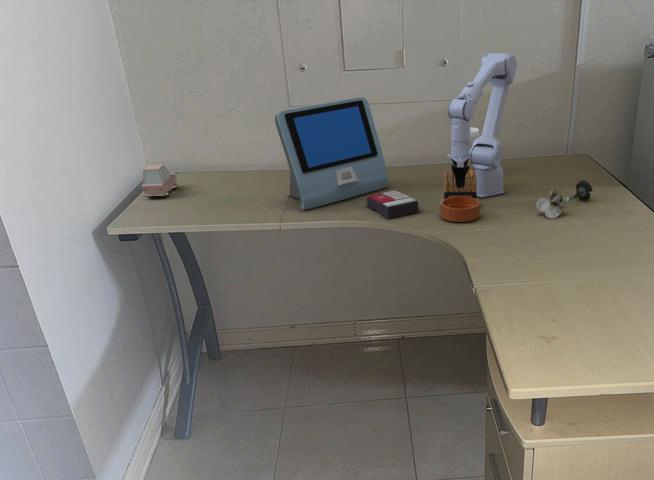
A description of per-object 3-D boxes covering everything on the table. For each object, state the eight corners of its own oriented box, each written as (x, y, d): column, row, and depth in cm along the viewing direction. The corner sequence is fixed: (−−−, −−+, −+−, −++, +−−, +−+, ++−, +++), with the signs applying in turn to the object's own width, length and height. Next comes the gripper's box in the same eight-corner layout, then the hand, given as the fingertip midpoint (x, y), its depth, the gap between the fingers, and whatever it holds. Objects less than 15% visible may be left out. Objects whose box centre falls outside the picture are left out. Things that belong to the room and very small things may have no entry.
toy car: (182, 186, 235) (176, 158, 230) (168, 199, 222) (162, 170, 217) (156, 187, 235) (150, 159, 230) (141, 200, 222) (134, 171, 217)
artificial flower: (596, 206, 207) (604, 179, 200) (548, 230, 197) (554, 203, 190) (575, 193, 212) (583, 166, 204) (527, 216, 201) (533, 189, 194)
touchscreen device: (307, 212, 205) (294, 115, 191) (276, 201, 218) (261, 109, 204) (391, 188, 225) (385, 98, 210) (358, 179, 238) (350, 94, 224)
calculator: (395, 189, 213) (418, 198, 201) (396, 201, 214) (419, 212, 203) (365, 195, 208) (387, 205, 196) (367, 208, 210) (388, 218, 198)
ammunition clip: (476, 205, 207) (477, 168, 201) (476, 207, 206) (477, 170, 200) (443, 205, 208) (443, 169, 202) (443, 207, 206) (443, 170, 200)
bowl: (466, 207, 206) (466, 194, 203) (486, 218, 196) (487, 204, 194) (433, 214, 201) (433, 200, 199) (453, 226, 192) (453, 211, 189)
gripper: (447, 135, 203) (448, 177, 210) (447, 146, 190) (447, 191, 197) (470, 134, 202) (469, 177, 209) (470, 146, 190) (470, 190, 197)
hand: (460, 184), depth 203 cm, fingers open, 7 cm apart
